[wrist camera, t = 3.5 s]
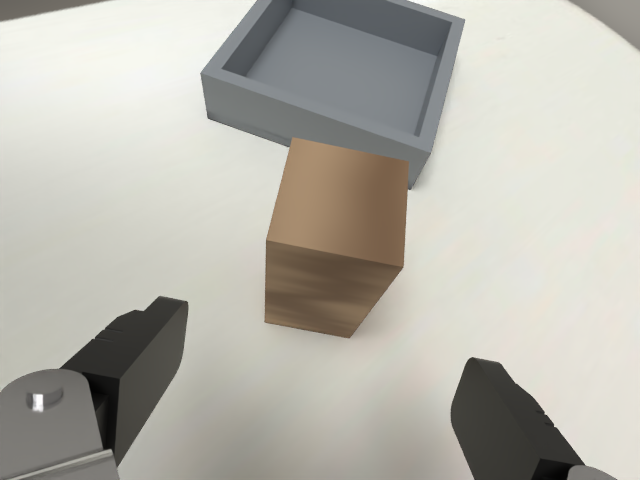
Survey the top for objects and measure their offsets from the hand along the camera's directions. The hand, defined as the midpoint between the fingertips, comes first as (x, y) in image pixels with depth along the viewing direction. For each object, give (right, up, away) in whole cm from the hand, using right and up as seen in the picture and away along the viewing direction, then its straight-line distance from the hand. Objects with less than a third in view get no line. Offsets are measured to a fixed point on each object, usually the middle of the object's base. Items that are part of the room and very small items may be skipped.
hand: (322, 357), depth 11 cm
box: (+2, +16, +22) cm, 27 cm away
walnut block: (0, 0, +13) cm, 13 cm away
